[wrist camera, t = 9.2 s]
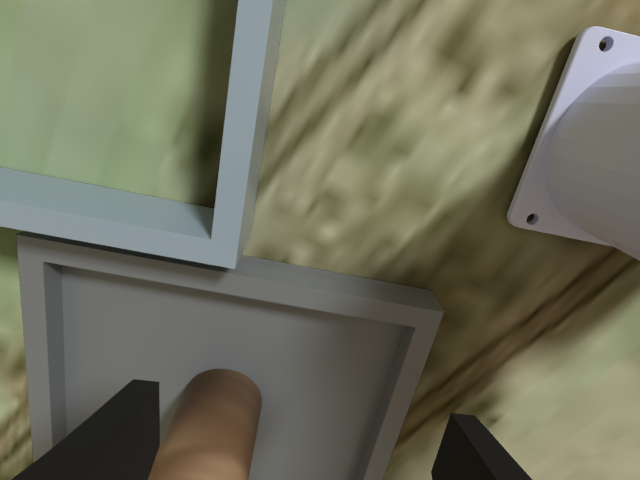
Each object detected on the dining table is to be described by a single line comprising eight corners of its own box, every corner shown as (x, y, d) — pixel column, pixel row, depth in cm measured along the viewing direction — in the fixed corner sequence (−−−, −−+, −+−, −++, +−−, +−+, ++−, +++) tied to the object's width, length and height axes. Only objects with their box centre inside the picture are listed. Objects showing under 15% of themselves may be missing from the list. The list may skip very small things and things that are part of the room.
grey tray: (431, 290, 19) (444, 312, 17) (354, 512, 24) (357, 547, 23) (48, 219, 18) (15, 234, 16) (59, 471, 23) (36, 504, 21)
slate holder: (308, -150, 13) (305, -231, 10) (250, 236, 18) (234, 269, 15) (-141, -271, 12) (-315, -407, 9) (-73, 175, 17) (-167, 195, 14)
